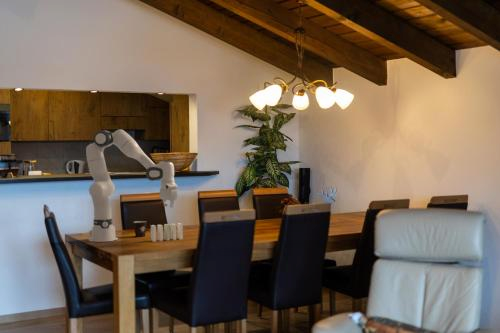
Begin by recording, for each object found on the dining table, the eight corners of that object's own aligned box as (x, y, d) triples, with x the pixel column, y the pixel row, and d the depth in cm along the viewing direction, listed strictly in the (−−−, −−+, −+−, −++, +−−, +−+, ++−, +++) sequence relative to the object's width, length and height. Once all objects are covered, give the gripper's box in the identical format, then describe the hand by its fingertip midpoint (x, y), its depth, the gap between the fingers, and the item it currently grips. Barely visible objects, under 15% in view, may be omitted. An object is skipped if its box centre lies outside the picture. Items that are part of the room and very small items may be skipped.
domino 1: (151, 240, 438) (150, 225, 438) (154, 240, 439) (153, 225, 439) (153, 241, 434) (153, 226, 433) (156, 241, 434) (156, 225, 434)
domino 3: (164, 239, 442) (164, 224, 442) (167, 239, 443) (166, 224, 442) (166, 240, 437) (166, 225, 437) (169, 240, 438) (169, 224, 438)
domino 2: (157, 240, 440) (157, 224, 440) (160, 239, 441) (160, 224, 440) (160, 241, 435) (159, 225, 435) (163, 240, 436) (162, 225, 436)
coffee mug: (134, 237, 453) (133, 222, 453) (133, 235, 462) (133, 221, 462) (151, 236, 456) (151, 222, 455) (150, 235, 464) (150, 220, 464)
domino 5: (177, 238, 446) (177, 223, 445) (180, 238, 447) (180, 223, 446) (179, 239, 441) (179, 224, 441) (182, 239, 442) (182, 223, 442)
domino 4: (170, 239, 444) (170, 223, 444) (173, 238, 445) (173, 223, 444) (173, 240, 439) (173, 224, 439) (176, 239, 440) (176, 224, 440)
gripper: (156, 185, 447) (157, 206, 447) (169, 186, 429) (170, 208, 430) (165, 184, 450) (166, 205, 450) (178, 185, 432) (179, 207, 433)
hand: (168, 206), depth 440 cm, fingers open, 8 cm apart
